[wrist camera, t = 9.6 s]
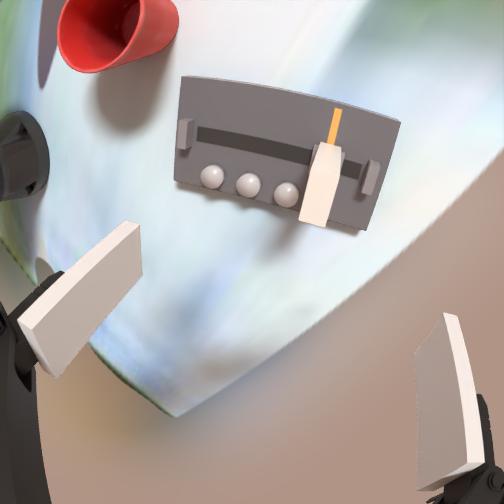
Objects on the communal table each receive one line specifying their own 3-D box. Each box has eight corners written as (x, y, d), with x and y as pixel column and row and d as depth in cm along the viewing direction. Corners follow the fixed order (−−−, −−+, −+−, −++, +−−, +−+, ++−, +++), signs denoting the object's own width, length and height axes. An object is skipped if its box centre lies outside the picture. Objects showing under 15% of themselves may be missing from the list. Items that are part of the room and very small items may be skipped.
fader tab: (307, 177, 31) (291, 218, 23) (315, 139, 28) (303, 166, 21) (336, 185, 30) (331, 229, 22) (346, 147, 28) (346, 178, 20)
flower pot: (177, 76, 30) (124, 83, 23) (105, 59, 31) (48, 67, 23) (205, -10, 24) (158, -30, 16) (127, -17, 25) (70, -27, 17)
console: (181, 174, 37) (166, 185, 34) (190, 75, 30) (174, 77, 27) (365, 222, 34) (366, 238, 31) (397, 119, 27) (403, 124, 24)
